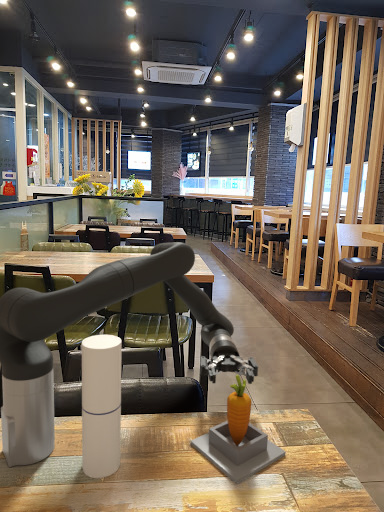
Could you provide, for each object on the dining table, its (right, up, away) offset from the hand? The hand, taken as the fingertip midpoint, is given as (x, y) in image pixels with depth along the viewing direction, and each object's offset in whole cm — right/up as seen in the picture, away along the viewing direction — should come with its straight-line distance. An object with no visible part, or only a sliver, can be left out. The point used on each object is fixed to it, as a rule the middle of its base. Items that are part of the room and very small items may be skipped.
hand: (232, 380), depth 86 cm
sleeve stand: (0, -12, -9) cm, 15 cm away
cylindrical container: (-27, -12, -14) cm, 33 cm away
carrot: (0, -11, -9) cm, 14 cm away
